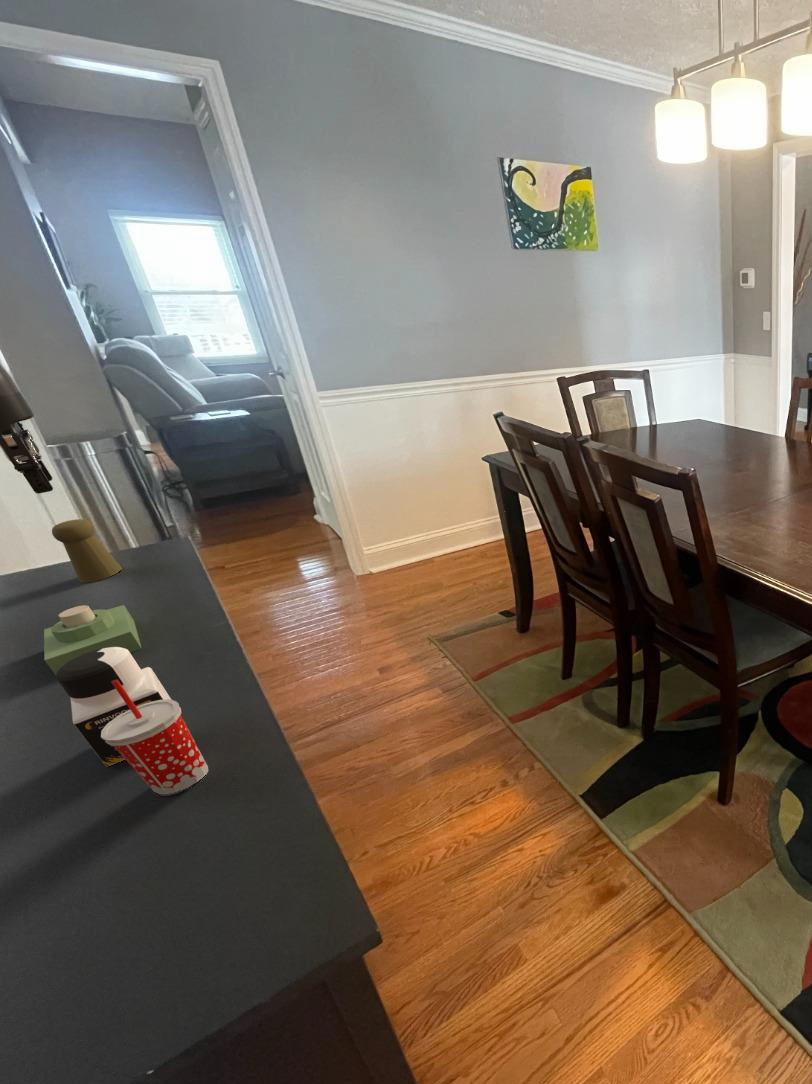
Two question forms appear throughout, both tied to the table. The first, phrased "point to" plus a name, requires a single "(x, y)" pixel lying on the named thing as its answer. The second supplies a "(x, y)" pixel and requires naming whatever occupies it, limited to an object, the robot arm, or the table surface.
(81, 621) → the beige button cap
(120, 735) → the beverage cup
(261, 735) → the table surface
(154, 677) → the medicine bottle
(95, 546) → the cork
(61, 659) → the green push button box
